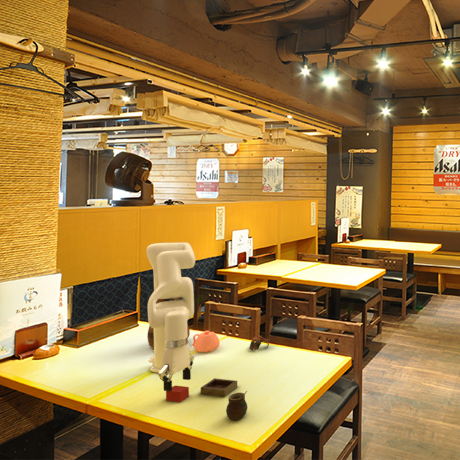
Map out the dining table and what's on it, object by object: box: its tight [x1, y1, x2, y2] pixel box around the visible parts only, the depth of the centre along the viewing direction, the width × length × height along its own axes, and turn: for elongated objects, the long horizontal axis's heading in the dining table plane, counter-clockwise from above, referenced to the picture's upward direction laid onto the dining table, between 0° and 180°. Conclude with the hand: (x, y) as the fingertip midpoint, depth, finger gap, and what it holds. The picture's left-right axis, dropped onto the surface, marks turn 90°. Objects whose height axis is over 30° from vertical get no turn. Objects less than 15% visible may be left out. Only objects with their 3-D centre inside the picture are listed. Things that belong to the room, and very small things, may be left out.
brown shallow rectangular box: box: [200, 378, 238, 398], centre depth 153 cm, size 11×8×3 cm
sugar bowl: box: [191, 330, 220, 353], centre depth 196 cm, size 12×14×10 cm
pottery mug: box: [249, 334, 270, 352], centre depth 199 cm, size 12×10×8 cm
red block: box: [165, 385, 190, 403], centre depth 146 cm, size 6×4×4 cm
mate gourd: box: [225, 390, 248, 421], centre depth 134 cm, size 7×8×10 cm
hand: (177, 384), depth 146 cm, fingers open, 9 cm apart
